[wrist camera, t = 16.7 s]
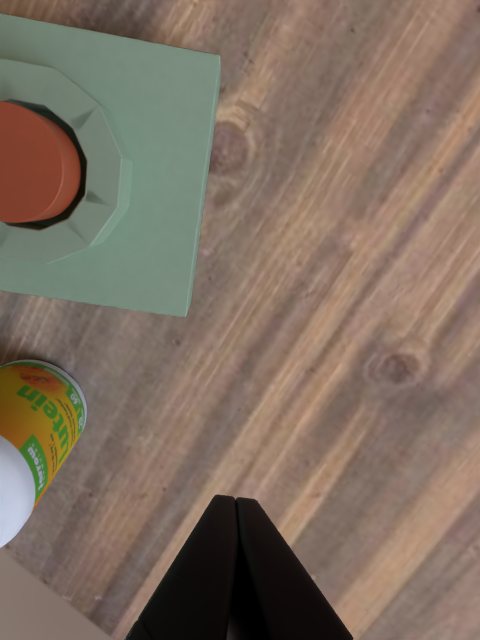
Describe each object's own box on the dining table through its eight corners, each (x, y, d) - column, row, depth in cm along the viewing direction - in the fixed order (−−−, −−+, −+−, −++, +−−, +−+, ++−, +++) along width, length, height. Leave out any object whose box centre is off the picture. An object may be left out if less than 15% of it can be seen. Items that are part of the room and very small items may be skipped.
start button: (78, 227, 16) (60, 231, 14) (-23, 211, 15) (-54, 213, 14) (85, 121, 15) (66, 112, 13) (-24, 103, 14) (-56, 90, 13)
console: (190, 303, 21) (181, 330, 16) (-67, 264, 20) (-149, 283, 16) (221, 75, 18) (219, 36, 14) (-74, 20, 17) (-174, -40, 13)
